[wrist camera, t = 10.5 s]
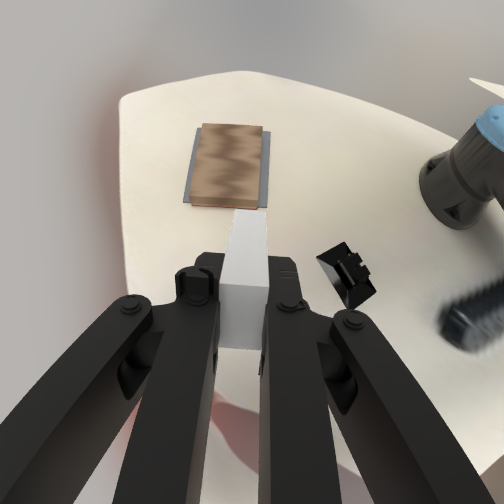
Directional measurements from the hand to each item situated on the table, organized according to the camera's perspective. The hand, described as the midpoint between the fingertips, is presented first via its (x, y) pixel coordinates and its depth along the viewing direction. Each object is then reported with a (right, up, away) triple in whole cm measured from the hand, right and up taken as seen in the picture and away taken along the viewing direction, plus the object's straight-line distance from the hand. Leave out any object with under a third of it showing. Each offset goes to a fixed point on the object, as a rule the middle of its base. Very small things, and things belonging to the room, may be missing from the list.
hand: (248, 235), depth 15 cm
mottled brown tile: (-4, +7, +29) cm, 30 cm away
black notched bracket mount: (+14, -4, +29) cm, 33 cm away
